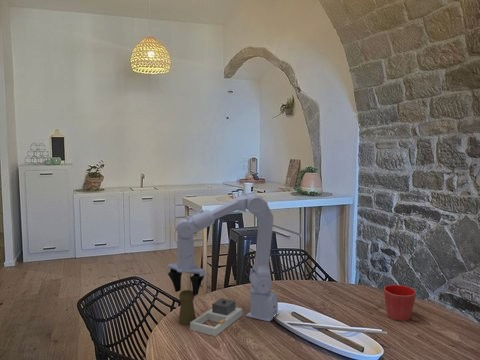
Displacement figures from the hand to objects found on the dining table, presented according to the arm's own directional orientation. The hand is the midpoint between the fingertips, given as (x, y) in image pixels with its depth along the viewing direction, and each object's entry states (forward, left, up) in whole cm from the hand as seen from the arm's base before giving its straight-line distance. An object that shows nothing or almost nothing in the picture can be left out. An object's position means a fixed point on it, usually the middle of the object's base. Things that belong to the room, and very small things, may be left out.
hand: (186, 292), depth 143 cm
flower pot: (-64, -39, -11) cm, 76 cm away
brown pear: (0, 0, -11) cm, 11 cm away
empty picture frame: (-10, -5, -10) cm, 15 cm away
